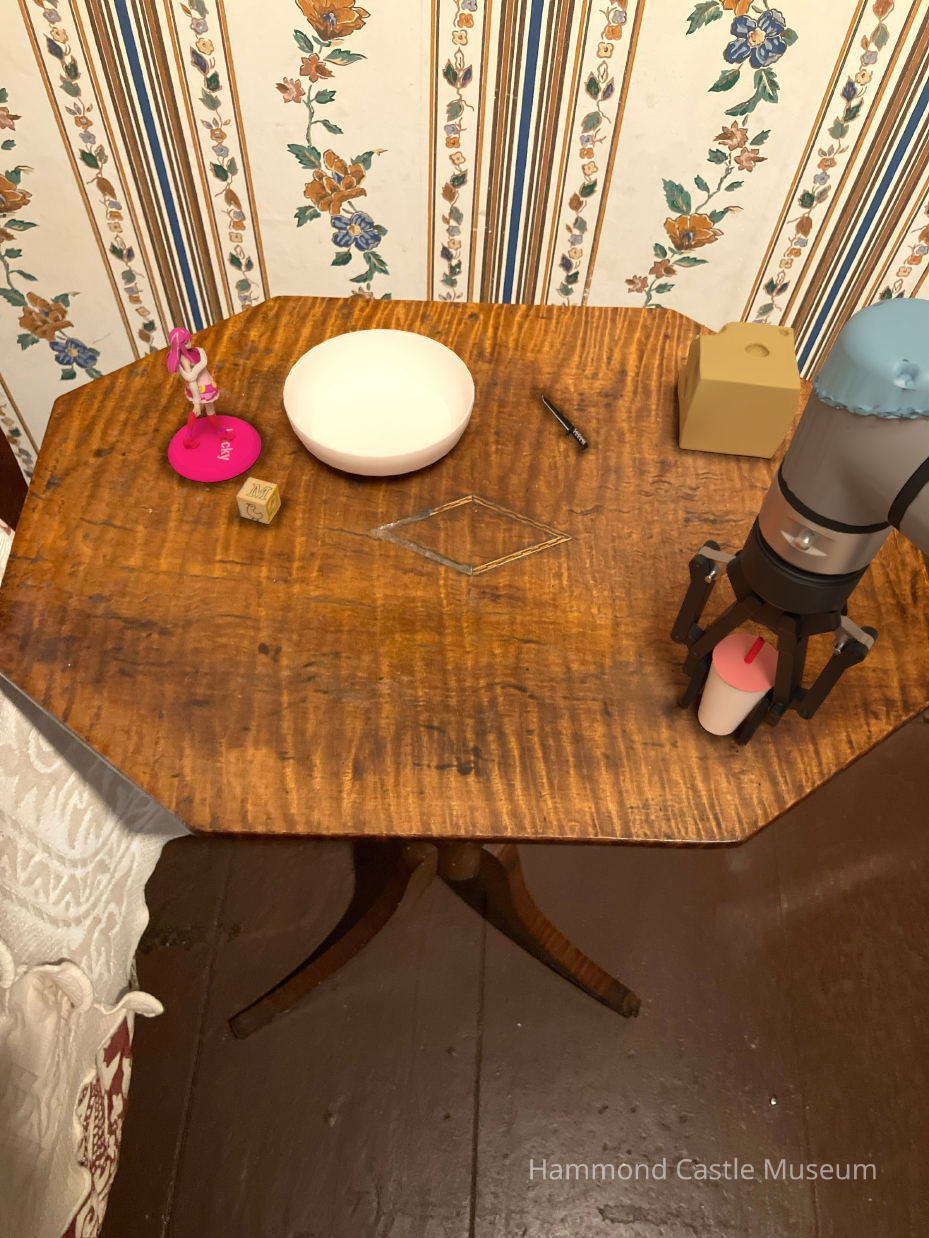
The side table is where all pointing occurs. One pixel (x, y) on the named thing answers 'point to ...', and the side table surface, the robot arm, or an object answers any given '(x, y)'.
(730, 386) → the cheese
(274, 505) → the alphabet block
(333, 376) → the bowl
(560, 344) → the side table surface
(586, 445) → the knife
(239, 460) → the figurine
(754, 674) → the cup
